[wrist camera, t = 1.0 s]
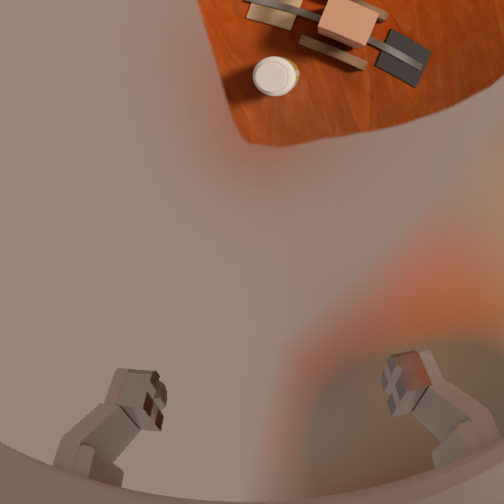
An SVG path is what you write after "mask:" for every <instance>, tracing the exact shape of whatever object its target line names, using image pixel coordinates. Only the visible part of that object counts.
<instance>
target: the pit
mask: <svg viewBox="0 0 504 504" xmlns="http://www.w3.org/2000/svg"><path fill="white" fill-rule="evenodd" d="M385 44H387V45H389V46H391V47H393V48H395V49H397V50H398V51H400V52H402V53H404V54H406V55H407V56H409V57H411V58H413V59H414V60H416V61H418V62H419V63H421V64H422V65H423V66H422V68H421V70H420V71H419V70H417V69H416V68H414V67H412V66H411V65H409V64H407V63H405V62H404V61H402V60H400V59H398V58H396V57H395V56H393V55H391V54H389V53H387V52H385V51H383V50H382V52H381V54H380V56H379V59H378V61H377V63H376V66H377V67H379V68H381V69H383V70H385V71H387V72H389V73H391V74H392V75H394V76H396V77H398V78H400V79H401V80H403V81H405V82H407V83H408V84H410V85H412V86H413V87H415V88H416V86H417V84H418V82H419V80H420V77H421V75H422V73H423V71H424V68H425V66H426V64H427V61H428V59H429V57H430V54H431V51H429V50H428V49H426V48H424V47H423V46H421V45H419V44H418V43H416V42H414V41H413V40H411V39H409V38H407V37H406V36H404V35H402V34H400V33H398V32H396V31H395V30H393V29H391V30H390V33H389V35H388V38H387V40H386V42H385Z"/></svg>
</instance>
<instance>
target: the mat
mask: <svg viewBox="0 0 504 504" xmlns="http://www.w3.org/2000/svg"><path fill="white" fill-rule="evenodd" d="M274 1H278V2H281V3H285V4H288V5H291V6H295V7H298V8H300V6H301V3H302V1H303V0H274ZM296 16H297V15H296V14H293V13H290V12H287V11H283V10H280V9H276V8H273V7H269V6H265V5H261V4H257V3H253V2H252V3H251V6H250V8H249V11H248V13H247V16H246V18H248V19H252V20H256V21H260V22H263V23H267V24H270V25H274V26H277V27H281V28H284V29H287V30H290V31H291V28H292V26H293V23H294V21H295V18H296Z"/></svg>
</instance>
